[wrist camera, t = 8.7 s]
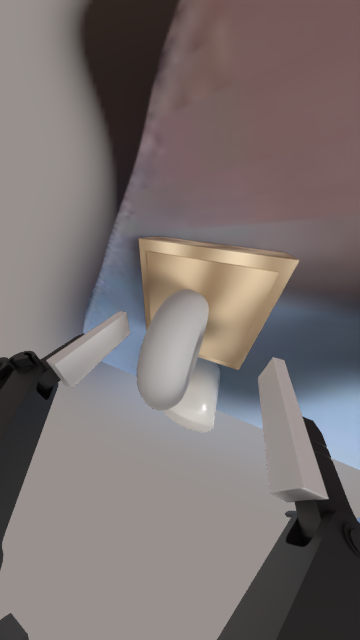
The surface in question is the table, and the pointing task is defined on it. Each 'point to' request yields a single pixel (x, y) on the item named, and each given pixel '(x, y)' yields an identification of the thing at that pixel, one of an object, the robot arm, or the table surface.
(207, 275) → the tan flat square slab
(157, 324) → the donut
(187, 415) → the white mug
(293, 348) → the table surface
